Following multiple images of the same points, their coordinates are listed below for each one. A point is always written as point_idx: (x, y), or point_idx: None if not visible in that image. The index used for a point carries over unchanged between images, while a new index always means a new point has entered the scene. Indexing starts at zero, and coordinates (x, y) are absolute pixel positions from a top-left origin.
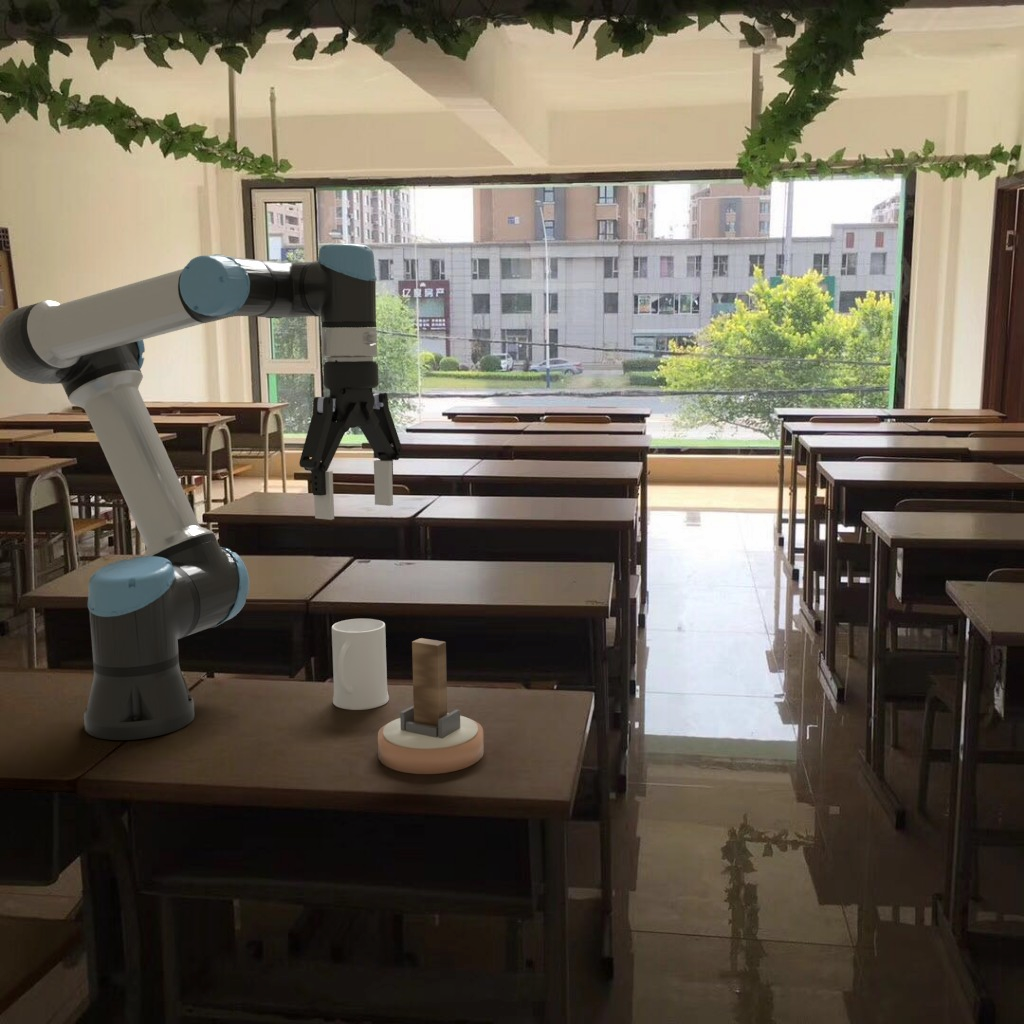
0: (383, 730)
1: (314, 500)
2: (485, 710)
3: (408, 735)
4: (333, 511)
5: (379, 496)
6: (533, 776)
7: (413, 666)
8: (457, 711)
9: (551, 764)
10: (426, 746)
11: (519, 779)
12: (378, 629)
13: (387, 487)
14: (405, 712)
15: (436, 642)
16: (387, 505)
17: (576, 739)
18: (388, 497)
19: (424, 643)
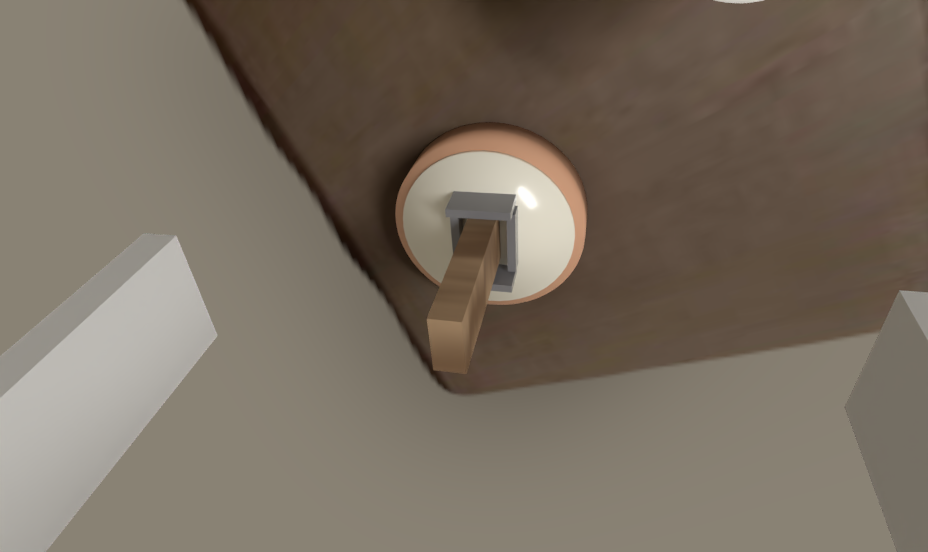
0: (434, 165)
1: (55, 310)
2: (751, 195)
3: (439, 215)
4: (186, 368)
5: (903, 389)
6: (497, 355)
7: (442, 283)
8: (503, 291)
9: (546, 362)
10: (418, 260)
11: (479, 345)
12: (730, 2)
13: (903, 531)
14: (451, 216)
15: (451, 361)
16: (854, 390)
17: (655, 366)
18: (871, 453)
19: (430, 344)
